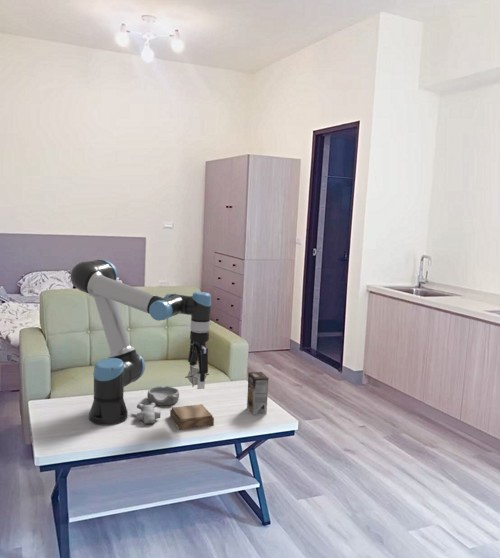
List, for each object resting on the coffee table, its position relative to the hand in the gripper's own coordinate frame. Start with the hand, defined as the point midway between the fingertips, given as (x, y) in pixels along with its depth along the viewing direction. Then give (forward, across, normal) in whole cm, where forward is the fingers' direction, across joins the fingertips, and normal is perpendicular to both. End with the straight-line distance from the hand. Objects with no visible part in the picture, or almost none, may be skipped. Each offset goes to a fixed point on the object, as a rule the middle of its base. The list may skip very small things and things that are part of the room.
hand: (196, 384), depth 219 cm
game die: (0, 0, 0) cm, 0 cm away
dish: (+16, +25, +6) cm, 30 cm away
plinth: (+15, -2, +2) cm, 15 cm away
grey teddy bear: (+16, +7, +18) cm, 25 cm away
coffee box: (+14, -1, -28) cm, 32 cm away
